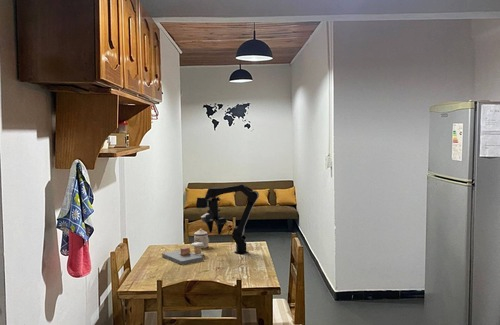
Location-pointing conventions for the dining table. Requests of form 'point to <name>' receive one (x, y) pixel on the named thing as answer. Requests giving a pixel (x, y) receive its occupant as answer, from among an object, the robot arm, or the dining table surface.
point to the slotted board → (182, 257)
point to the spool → (198, 248)
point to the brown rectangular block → (185, 251)
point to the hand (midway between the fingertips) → (214, 233)
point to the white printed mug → (201, 238)
